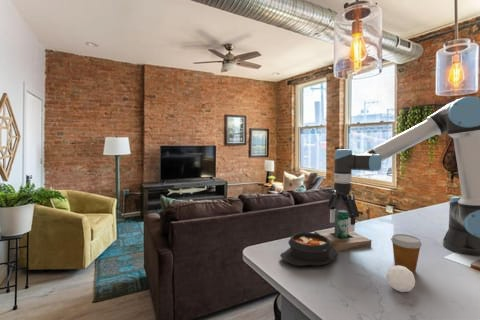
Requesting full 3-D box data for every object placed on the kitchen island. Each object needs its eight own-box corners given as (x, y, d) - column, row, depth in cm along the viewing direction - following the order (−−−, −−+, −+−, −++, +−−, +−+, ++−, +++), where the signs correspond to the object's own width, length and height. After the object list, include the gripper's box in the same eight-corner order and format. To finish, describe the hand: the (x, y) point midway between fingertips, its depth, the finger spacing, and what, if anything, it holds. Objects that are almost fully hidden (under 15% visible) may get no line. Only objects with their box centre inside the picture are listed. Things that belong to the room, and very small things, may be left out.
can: (342, 245, 119) (342, 212, 118) (331, 240, 125) (332, 209, 124) (351, 242, 122) (351, 211, 121) (340, 238, 128) (341, 208, 127)
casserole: (301, 276, 92) (301, 253, 91) (270, 256, 108) (271, 236, 107) (349, 261, 103) (350, 240, 103) (315, 245, 120) (316, 227, 119)
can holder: (371, 246, 117) (371, 240, 117) (336, 251, 112) (336, 244, 112) (345, 233, 135) (345, 227, 134) (314, 236, 130) (314, 231, 130)
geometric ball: (396, 300, 82) (382, 281, 81) (393, 280, 89) (380, 262, 88) (422, 296, 78) (408, 276, 77) (417, 275, 84) (404, 257, 84)
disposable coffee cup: (425, 277, 90) (427, 243, 90) (395, 274, 92) (396, 241, 92) (413, 265, 100) (414, 234, 99) (386, 262, 102) (387, 232, 101)
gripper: (320, 179, 133) (319, 219, 134) (354, 186, 109) (352, 236, 110) (333, 178, 135) (332, 218, 136) (369, 186, 111) (367, 234, 112)
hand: (341, 226), depth 123 cm, fingers open, 13 cm apart
